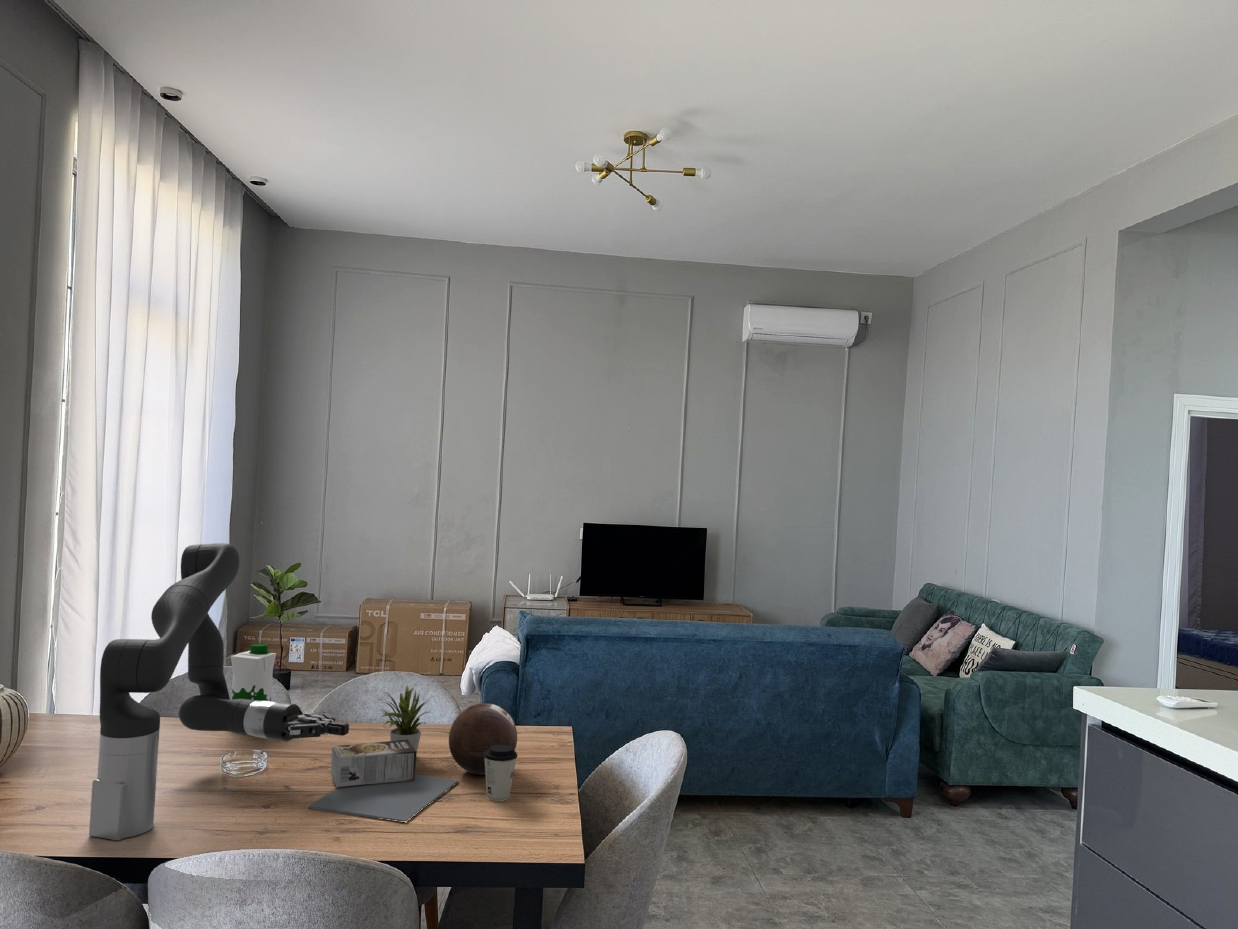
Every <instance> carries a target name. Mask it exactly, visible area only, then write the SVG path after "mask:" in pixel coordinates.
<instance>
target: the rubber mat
mask: <svg viewBox="0 0 1238 929" xmlns="http://www.w3.org/2000/svg"><path fill="white" fill-rule="evenodd" d="M457 782H458V783H459V779H453V778H452V779H451V778H443V777H437V776H429V775H424V774H423V775H422V774H416V773H415V780H411V781H401V782H391V783H380V784H369V785H358V786H347V787H336V789H335V788H334V790H332V791H330V792H329V793H327V794H326V795H323V796H322V797H320V798H319V799H317V800H315V801H313V802H311V804H308V805H307V809H309V808H311V809H310V810H315V809H316V811H321V812H328V811H330V813H335V814H343V815H348V814H350V816H354V815H359V816H358V817H361V816H364V817H363V818H367V817H371V818H370V819H374V818H383V819H390V820H397V821H407V820H408V819H409V818H411V817H412V816H413V815H414V814H416V813H417V812H418V811H420V810H421V809H422V808H424V807H425V806H426V805H428V804H429V803H431V802H432V801H434V800H435V799H436V798H437V797H439V796H440V795H441V794H443V793H444V792H445V791H446V790H448V789H449V788H450V787H452V786H453V785H454V784H456V783H457ZM458 783H457V784H458ZM457 784H456V785H457ZM453 787H454V786H453ZM453 787H452V788H453ZM449 790H450V789H449ZM449 790H448V791H449ZM445 793H446V792H445ZM445 793H444V794H445ZM444 794H443V795H444ZM440 797H441V796H440ZM440 797H439V798H440ZM436 800H437V799H436ZM436 800H435V801H436ZM435 801H434V802H435ZM431 804H432V803H431Z"/></svg>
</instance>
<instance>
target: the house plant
mask: <svg viewBox="0 0 1238 929" xmlns="http://www.w3.org/2000/svg"><path fill="white" fill-rule="evenodd" d="M413 691H414V693H413ZM381 692H382V693H385V694H386V695H385V696H387V697H390V700H391V701H392V702H390V701H388V700H385V699H384V701H385V702H386V704H387V706H389V707H390V709H392V711H393V712H388V711H386V710H383V709H379V710H380V711H383V713H382V715H380V717H379V719H380V718H384V717H387V719H388V720H386V721H385V722H384V725H383V726H385V725H387V724H389V725H390V726H389V728H391V727H392V726H394V725H395V726H396V727H394V728H391V729H390V730H389V737H390V741H397V740H407V739H408V740H409V742H410V743H411V744H412V746H413V747H414V748H415V750H416V751H417V752H418V749H419V745H420V740H421V735H422V730H421V729H420V728H418V727H419V726H420V725H421V724H425V725H427V723H426V722H419V721H420V719H421V718H420V717H422V716H423V715H425V714H428V713H430V714H431V713H432V714H433V712H432V711H425V712H423V713H421V714H420V715H418V714H419V712H420V711H421V709H422V708H423V706H424V705H425V704H427V702H429V701H430V698H428V699H427V700H426V701H424V702H423V703H421V704H420V705H419V702H420V693H418V694H417V690H416V689H415V690H414V687H412V688H411V689H409V686H408V685H406V686H405V690H404V692H405V693H404V696H403V693H402V692H400V694H399V701H398V704H397V702H396V700H395V698H393V696H391V695H390V694H389V693H388V692H385V691H382V690H380V693H381ZM412 694H413V696H412ZM412 697H413V698H412ZM411 698H412V702H411ZM376 700H377V701H383V698H382V699H376ZM418 705H419V706H418ZM393 718H394V719H395V720H394V719H393Z"/></svg>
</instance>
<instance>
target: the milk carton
mask: <svg viewBox="0 0 1238 929" xmlns="http://www.w3.org/2000/svg"><path fill="white" fill-rule="evenodd" d="M268 648H269V644H267V643H260V642H258V643H251V644H250V650H248V651H247V650H246V651H242V652H238V653H237V654H233V655H230V659H231V660H230V661H231V666H232V685H231V686H232V687H231V698H230V700H233V699H248V700H256V701H272V689H273V672H274V666H275V661H276V656H277V653H276V652H274V653H273V652H271V651H268Z"/></svg>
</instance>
